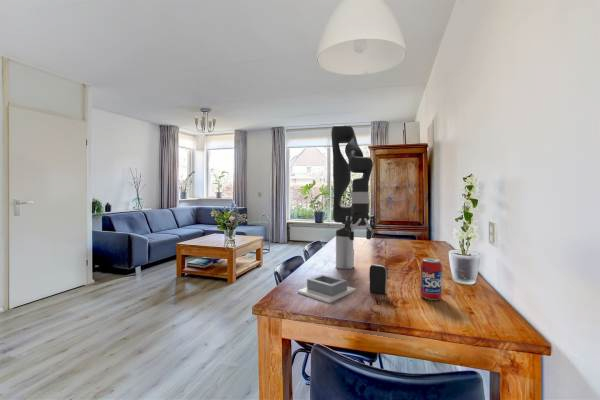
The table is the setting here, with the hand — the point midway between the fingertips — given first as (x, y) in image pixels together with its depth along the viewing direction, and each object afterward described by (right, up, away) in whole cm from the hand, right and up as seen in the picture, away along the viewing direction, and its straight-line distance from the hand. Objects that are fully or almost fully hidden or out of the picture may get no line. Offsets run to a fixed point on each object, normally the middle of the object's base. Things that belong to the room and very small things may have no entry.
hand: (360, 239), depth 129 cm
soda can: (+25, -21, -14) cm, 35 cm away
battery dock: (-15, -21, -6) cm, 26 cm away
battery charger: (+6, -21, -7) cm, 23 cm away
